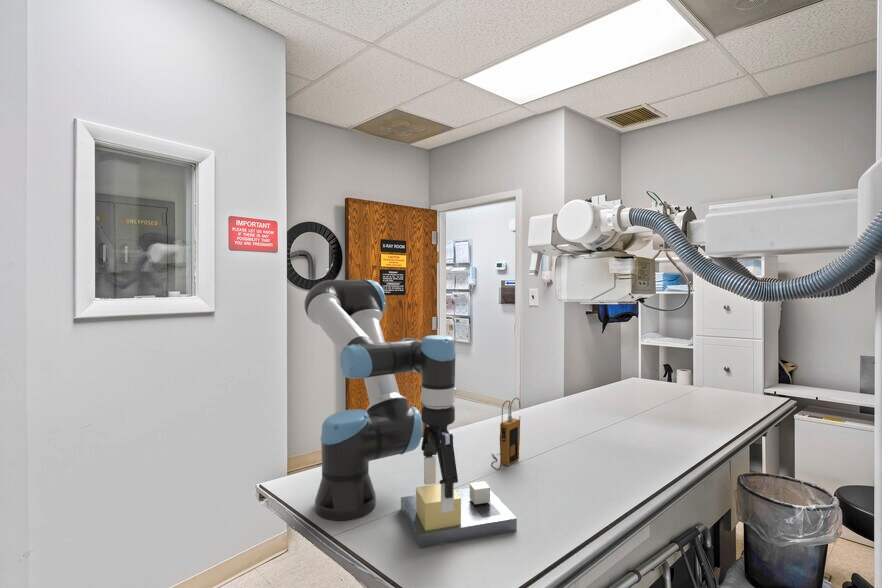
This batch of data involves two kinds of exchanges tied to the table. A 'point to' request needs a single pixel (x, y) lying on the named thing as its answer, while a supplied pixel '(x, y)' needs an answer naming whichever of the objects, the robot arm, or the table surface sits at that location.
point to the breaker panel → (462, 521)
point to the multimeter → (509, 439)
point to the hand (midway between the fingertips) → (438, 496)
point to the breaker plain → (479, 492)
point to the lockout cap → (436, 508)
